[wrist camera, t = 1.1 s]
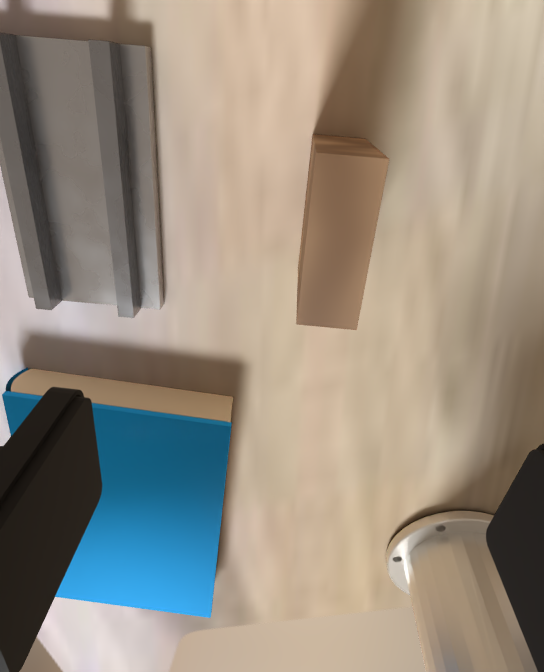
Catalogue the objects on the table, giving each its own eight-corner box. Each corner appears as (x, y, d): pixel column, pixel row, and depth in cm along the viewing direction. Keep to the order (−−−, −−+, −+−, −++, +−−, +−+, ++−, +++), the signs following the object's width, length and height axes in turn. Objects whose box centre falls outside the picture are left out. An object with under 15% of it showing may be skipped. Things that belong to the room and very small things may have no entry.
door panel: (365, 138, 25) (389, 159, 18) (343, 271, 29) (356, 329, 22) (312, 134, 25) (316, 152, 18) (298, 267, 29) (296, 324, 22)
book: (231, 424, 31) (212, 621, 44) (238, 388, 35) (219, 579, 47) (-10, 393, 31) (38, 599, 43) (23, 360, 35) (59, 559, 47)
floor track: (-17, 33, 24) (-49, 28, 22) (151, 47, 24) (135, 43, 21) (36, 291, 31) (16, 306, 29) (164, 303, 31) (153, 319, 29)
